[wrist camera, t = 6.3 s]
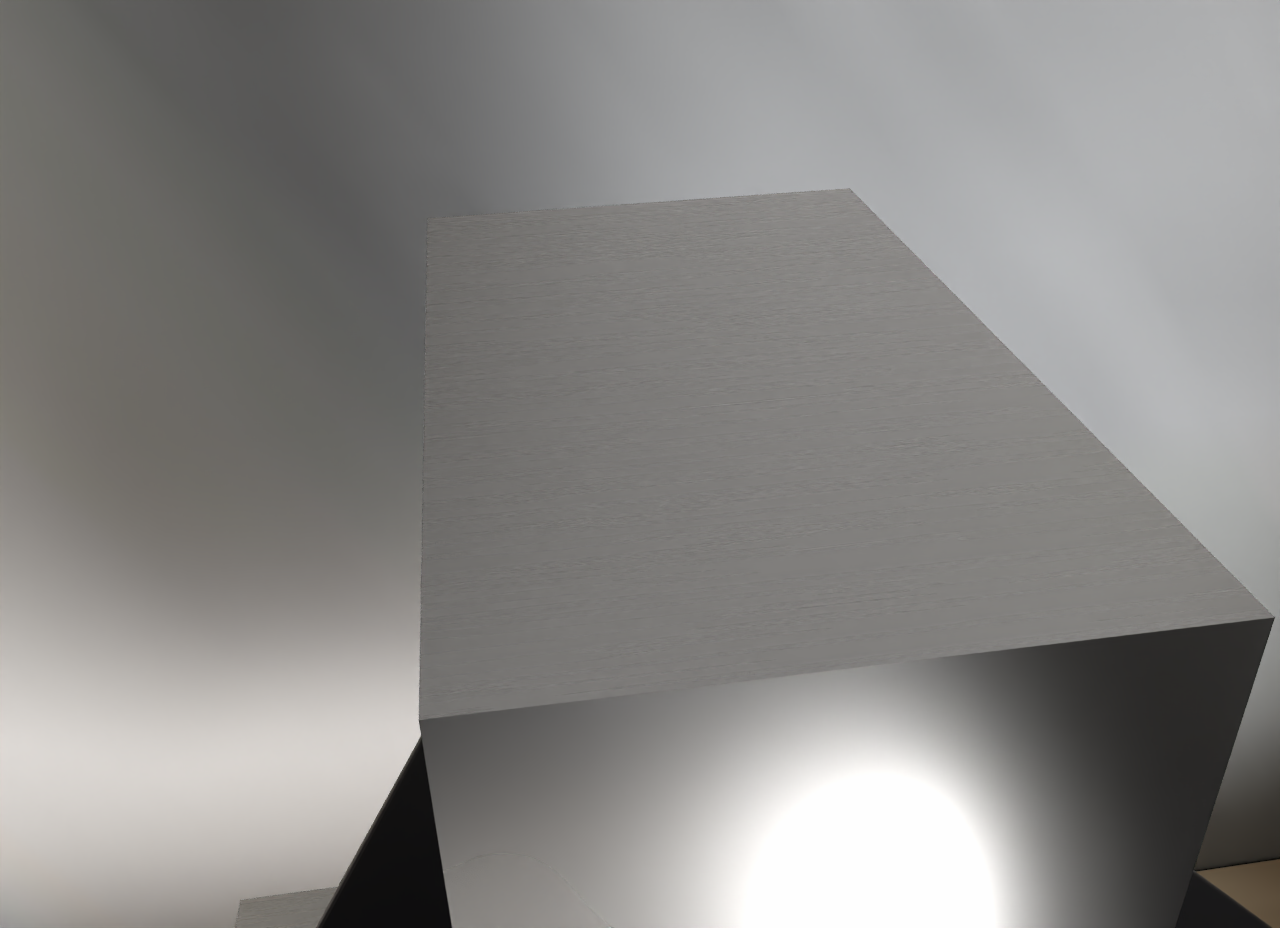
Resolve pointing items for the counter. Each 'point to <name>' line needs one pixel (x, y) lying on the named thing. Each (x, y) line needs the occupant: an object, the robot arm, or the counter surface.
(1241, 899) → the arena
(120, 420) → the counter surface
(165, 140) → the counter surface
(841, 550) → the bracket
